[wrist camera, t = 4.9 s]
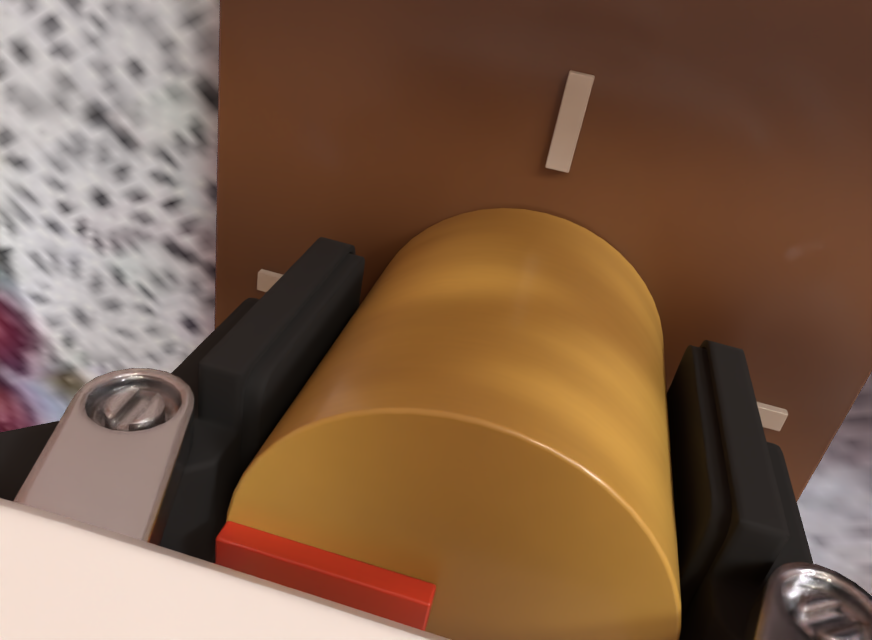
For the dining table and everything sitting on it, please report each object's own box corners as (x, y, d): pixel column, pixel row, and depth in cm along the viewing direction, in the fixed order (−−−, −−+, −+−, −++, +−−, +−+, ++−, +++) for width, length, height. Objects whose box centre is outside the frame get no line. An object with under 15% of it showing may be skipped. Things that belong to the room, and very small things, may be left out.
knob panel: (683, 577, 18) (692, 693, 16) (265, 453, 19) (206, 540, 17) (999, -48, 11) (1117, -35, 8) (306, -181, 12) (215, -206, 10)
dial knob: (708, 251, 11) (768, 524, 6) (612, 493, 14) (601, 824, 9) (390, 174, 12) (211, 367, 7) (355, 419, 14) (207, 691, 9)
